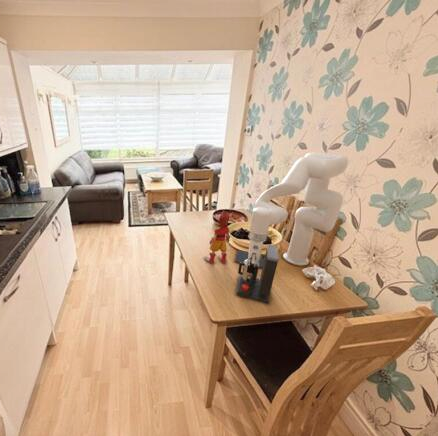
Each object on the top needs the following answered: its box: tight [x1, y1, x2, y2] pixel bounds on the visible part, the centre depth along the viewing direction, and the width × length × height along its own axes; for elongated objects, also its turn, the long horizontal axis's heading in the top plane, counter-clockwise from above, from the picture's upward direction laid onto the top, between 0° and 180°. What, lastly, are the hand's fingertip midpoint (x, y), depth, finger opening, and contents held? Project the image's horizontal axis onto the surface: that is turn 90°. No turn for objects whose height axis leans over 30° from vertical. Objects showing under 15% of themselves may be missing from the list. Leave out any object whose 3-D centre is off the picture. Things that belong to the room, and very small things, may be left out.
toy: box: [204, 209, 231, 264], centre depth 129 cm, size 12×9×30 cm
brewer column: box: [239, 244, 280, 296], centre depth 108 cm, size 13×13×19 cm
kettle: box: [237, 259, 260, 283], centre depth 112 cm, size 9×8×11 cm
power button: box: [242, 284, 249, 291], centre depth 109 cm, size 3×3×2 cm
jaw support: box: [301, 264, 336, 291], centre depth 114 cm, size 12×9×10 cm
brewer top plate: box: [234, 249, 264, 269], centre depth 136 cm, size 14×14×1 cm
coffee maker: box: [236, 277, 269, 305], centre depth 112 cm, size 15×13×3 cm
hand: (250, 268), depth 113 cm, fingers closed on kettle, 6 cm apart
